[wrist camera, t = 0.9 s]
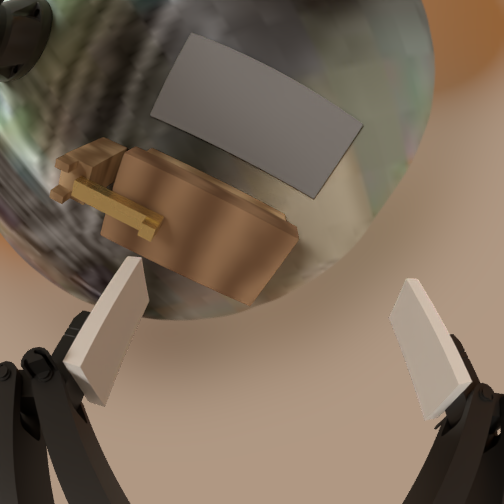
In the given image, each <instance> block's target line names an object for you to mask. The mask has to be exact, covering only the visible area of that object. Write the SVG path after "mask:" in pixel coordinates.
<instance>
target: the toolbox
mask: <svg viewBox="0 0 504 504" xmlns="http://www.w3.org/2000/svg"><path fill="white" fill-rule="evenodd" d="M126 151H127V148H126V147H124V146H122V145H120V144H117V143H115V142H113V141H111V140H109V139H106V138H104V137H103V138H100V139H98V140H95V141H93V142H91V143H88V144H86V145H84V146H81V147H79V148H77V149H75V150H73V151H70V152H68V153H66V154H65V155H63V156H61V157H59V158H57V159H56V164H55V167H56V168H58V169H60V170H61V175H60V180H59V185H58V186H56V187H55V188H53V189H52V190H51V192H50V198H52V199H53V200H55V201H57V202H59V203H61V204H63V203H64V202H65V201H67V200H68V199H69V198H71V199H73V200H75V201H77V202H79V203H81V204H82V205H84V204H85V203H84V202H82V201H80V200H78V199H77V198H75V197H73V196H71V194H72V189H73V184H74V180H75V179H77V178H79V177H80V176H83V177H85V178H87V179H89V180H91V181H93V182H95V183H97V184H99V185H101V186H103V187H105V188H106V187H107V186H108V185H110V184H111V183H112V182H114V181H115V179H116V176H117V173H118V170H119V167H120V164H121V161H122V158H123V155H124V152H126ZM147 152H149V153H151V154H154V155H156V156H158V157H160V158H162V159H164V160H166V161H169V162H171V163H173V164H175V165H177V166H179V167H181V168H183V169H185V170H187V171H189V172H191V173H193V174H195V175H198V176H200V177H202V178H204V179H206V180H208V181H210V182H212V183H214V184H216V185H218V186H220V187H222V188H224V189H226V190H228V191H230V192H232V193H234V194H235V195H237V196H239V197H241V198H243V199H245V200H247V201H249V202H251V203H253V204H255V205H257V206H259V207H261V208H262V209H264V210H266V211H268V212H270V213H272V214H274V215H276V216H278V217H279V218H281V219H283V220H285V221H286V218H285V214H283V213H281V212H280V211H278V210H276V209H274V208H272V207H270V206H268V205H266V204H265V203H263V202H261V201H259V200H257V199H255V198H253V197H251V196H249V195H247V194H245V193H244V192H242V191H240V190H238V189H236V188H234V187H232V186H230V185H228V184H226V183H224V182H222V181H220V180H218V179H216V178H214V177H212V176H210V175H208V174H206V173H204V172H202V171H200V170H198V169H196V168H194V167H192V166H190V165H188V164H185V163H183V162H181V161H179V160H177V159H175V158H173V157H171V156H169V155H167V154H164V153H162V152H160V151H158V150H156V149H154V148H151V149H149V150H148V151H147Z"/></svg>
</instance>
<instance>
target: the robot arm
mask: <svg viewBox="0 0 504 504" xmlns="http://www.w3.org/2000/svg"><path fill="white" fill-rule="evenodd" d="M3 1H4V0H0V82H6V81H12V80H16V79H19V78H21V77H22V76H24V75H25V74H26V73H27V72H28V71H29V70H30V69H31V68H32V67H33V66H34V65H35V63H36V62H37V60H38V59H39V57H40V55H41V54H42V52H43V50H44V48H45V45H46V43H47V40H48V37H49V33H50V29H51V22H52V14H51V9H50V6H49V4H48V2H47V1H46V0H10V1H7V2H3ZM2 2H3V3H2ZM148 302H149V297H148V292H147V287H146V281H145V275H144V270H143V263H142V258H141V257H131V256H127V258H126V259H125V261H124V262H123V264H122V265H121V266H120V268H119V269H118V271H117V272H116V274H115V275H114V277H113V278H112V280H111V281H110V283H109V284H108V286H107V288H106V289H105V291H104V292H103V294H102V295H101V297H100V298H99V300H98V302H97V303H96V305H95V306H94V308H93V310H92V311H91V312H87V311H82V312H81V313H79V314H78V315H77V316H76V317H75V318H74V319H73V321H72V322H71V324H70V325H69V328H68V329H67V330H66V332H65V335H63V337H62V339H61V340H60V342H59V344H58V345H57V347H56V349H55V350H54V352H53V354H52V356H51V355H50V354H49V352H48V351H47V350H46V349H45V348H41V347H37V348H32V349H30V350H29V351H27V352H26V354H25V355H24V356H23V358H22V360H21V367H22V368H23V370H18V369H17V368H16V366H15V365H14V364H13V363H12V362H8V361H5V362H2V363H0V504H54V499H53V494H52V488H51V482H50V475H49V468H48V458H47V449H48V452H49V455H50V458H51V461H52V464H53V467H54V469H55V472H56V474H57V477H58V480H59V482H60V485H61V487H62V490H63V492H64V494H65V497H66V499H67V501H68V503H69V504H130V502H129V501H128V499H127V497H126V496H125V494H124V492H123V490H122V489H121V487H120V485H119V483H118V481H117V480H116V478H115V476H114V474H113V472H112V470H111V468H110V466H109V464H108V462H107V460H106V458H105V456H104V454H103V452H102V450H101V447H100V445H99V443H98V440H97V438H96V436H95V433H94V431H93V429H92V427H91V424H90V421H89V419H88V416H87V413H86V411H85V408H84V405H83V404H82V402H81V401H82V398H83V396H84V395H85V397H86V398H87V400H88V401H89V402H91V403H94V404H98V405H101V406H104V407H105V405H106V402H107V400H108V397H109V395H110V392H111V389H112V387H113V384H114V381H115V379H116V376H117V374H118V372H119V369H120V367H121V364H122V362H123V359H124V357H125V355H126V352H127V350H128V347H129V345H130V343H131V340H132V338H133V336H134V333H135V331H136V329H137V327H138V324H139V322H140V320H141V318H142V316H143V313H144V311H145V309H146V307H147V305H148ZM389 320H390V322H391V325H392V327H393V330H394V332H395V335H396V337H397V340H398V343H399V345H400V348H401V351H402V353H403V356H404V359H405V362H406V364H407V367H408V370H409V373H410V376H411V379H412V382H413V385H414V388H415V391H416V394H417V397H418V400H419V404H420V407H421V410H422V414H423V417H424V420H429V419H434V418H438V417H439V416H440V415H441V414H442V413H443V412H444V411H445V412H446V415H447V416H446V417H445V418H444V419H443V420H442V421H441V422H440V423H438V424H437V425H436V427H435V428H434V429H437V428H438V427H439V426H440V425H441V427H440V429H439V432H438V434H437V437H436V439H435V441H434V444H433V446H432V448H431V450H430V452H429V455H428V457H427V459H426V461H425V463H424V465H423V467H422V469H421V471H420V473H419V475H418V477H417V479H416V481H415V483H414V485H413V486H412V488H411V490H410V491H409V493H408V495H407V497H406V498H405V500H404V502H403V503H402V504H504V394H499V393H494V391H493V390H492V389H491V387H490V386H488V385H487V384H484V383H480V381H479V379H478V377H477V375H476V373H475V370H474V368H473V366H472V364H471V362H470V360H469V359H468V356H467V354H466V352H464V348H463V346H462V344H461V342H460V341H459V340H458V339H457V338H456V337H455V336H454V334H449V332H448V331H447V329H446V327H445V325H444V323H443V321H442V320H441V318H440V316H439V314H438V312H437V310H436V309H435V307H434V305H433V304H432V302H431V300H430V298H429V297H428V295H427V293H426V292H425V290H424V288H423V287H422V285H421V283H420V282H419V280H418V279H412V278H406V279H405V282H404V284H403V287H402V289H401V291H400V294H399V296H398V298H397V301H396V303H395V305H394V307H393V309H392V312H391V314H390V316H389ZM500 428H501V433H500V434H499V435H498V434H497V430H498V429H500ZM46 446H47V448H46Z"/></svg>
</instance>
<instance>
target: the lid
mask: <svg viewBox="0 0 504 504" xmlns="http://www.w3.org/2000/svg"><path fill="white" fill-rule="evenodd" d="M112 191H113V192H115V193H118V194H120V195H122V196H124V197H126V198H128V199H130V200H132V201H134V202H136V203H138V204H140V205H142V206H144V207H146V208H148V209H150V210H152V211H154V212H156V213H158V214H160V215H162V216H164V219H163V221H162V224H161V226H160V229H159V231H158V233H157V234H156V236H155V237H154V238H153V240H152V241H151V242H150V241H148V240H146V239H144V238H142V237H140V236H138V232H139V230H137V229H135V228H133V227H131V226H129V225H127V224H125V223H123V222H121V221H119V220H117V219H115V218H113V217H111V216H109V215H107V214H105V218H104V222H103V226H102V230H101V234H100V235H102V236H104V237H106V238H108V239H109V240H111V241H113V242H115V243H117V244H119V245H121V246H123V247H125V248H127V249H129V250H131V251H133V252H135V253H137V254H139V255H141V256H143V257H145V258H147V259H149V260H151V261H153V262H155V263H157V264H159V265H161V266H163V267H166V268H168V269H170V270H172V271H174V272H176V273H178V274H180V275H182V276H184V277H187V278H189V279H191V280H193V281H195V282H197V283H199V284H202V285H204V286H206V287H208V288H210V289H213V290H215V291H217V292H219V293H221V294H224V295H226V296H228V297H230V298H233V299H235V300H237V301H239V302H242V303H244V304H246V305H249V306H251V304H252V303H253V302H254V300H255V299H256V298H257V296H258V295H259V293H260V292H261V291H262V289H263V288H264V287H265V285H266V284H267V283H268V281H269V280H270V279H271V277H272V276H273V275H274V273H275V272H276V270H277V269H278V268H279V266H280V265H281V264H282V262H283V261H284V260H285V258H286V257H287V255H288V254H289V253H290V251H291V250H292V248H293V247H294V246H295V244H296V243H297V242H298V240H299V236H298V231H297V227H296V226H294V225H293V224H291V223H289V222H287V221H285V220H283V219H281V218H279V217H278V216H276V215H274V214H272V213H270V212H268V211H266V210H264V209H262V208H261V207H259V206H257V205H255V204H253V203H251V202H249V201H247V200H245V199H243V198H241V197H239V196H237V195H235V194H234V193H232V192H230V191H228V190H226V189H224V188H222V187H220V186H218V185H216V184H214V183H212V182H210V181H208V180H206V179H204V178H202V177H200V176H198V175H195V174H193V173H191V172H189V171H187V170H185V169H183V168H181V167H179V166H177V165H175V164H173V163H171V162H169V161H166V160H164V159H162V158H160V157H158V156H156V155H154V154H151V153H149V152H147V151H145V150H143V149H141V148H138V147H134V148H132V149H130V150H128V151H126V152H124V155H123V158H122V161H121V164H120V167H119V170H118V173H117V176H116V179H115V183H114V186H113V189H112Z"/></svg>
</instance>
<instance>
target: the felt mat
mask: <svg viewBox="0 0 504 504" xmlns="http://www.w3.org/2000/svg"><path fill="white" fill-rule="evenodd" d="M150 116H152V117H155V118H157V119H159V120H162V121H164V122H166V123H168V124H171V125H173V126H175V127H177V128H179V129H182V130H184V131H186V132H188V133H190V134H192V135H194V136H196V137H199V138H201V139H203V140H205V141H207V142H209V143H211V144H213V145H215V146H217V147H219V148H221V149H223V150H225V151H227V152H229V153H231V154H233V155H235V156H237V157H239V158H241V159H243V160H245V161H247V162H248V163H250V164H252V165H254V166H256V167H258V168H260V169H262V170H264V171H265V172H267V173H269V174H271V175H273V176H275V177H276V178H278V179H280V180H282V181H284V182H285V183H287V184H289V185H291V186H292V187H294V188H296V189H298V190H299V191H301V192H303V193H305V194H306V195H308V196H310V197H312V198H313V199H314V197H315V196H316V195H317V193H318V192H319V190H320V189H321V187H322V186H323V184H324V183H325V181H326V180H327V178H328V177H329V175H330V174H331V172H332V171H333V169H334V168H335V166H336V165H337V163H338V162H339V161H340V159H341V158H342V156H343V155H344V153H345V152H346V150H347V149H348V147H349V146H350V144H351V143H352V141H353V140H354V138H355V136H356V135H357V133H358V132H359V130H360V129H361V127H362V126H363V124H362V123H361V122H359V121H358V120H357V119H355V118H354V117H352V116H351V115H349V114H348V113H347V112H345V111H344V110H342V109H341V108H339V107H338V106H336V105H335V104H333V103H331V102H330V101H328V100H327V99H325V98H324V97H322V96H320V95H319V94H317V93H316V92H314V91H312V90H311V89H309V88H307V87H306V86H304V85H302V84H300V83H299V82H297V81H295V80H293V79H292V78H290V77H288V76H286V75H284V74H283V73H281V72H279V71H277V70H275V69H273V68H271V67H269V66H267V65H265V64H263V63H261V62H259V61H257V60H255V59H253V58H251V57H249V56H247V55H245V54H242V53H240V52H238V51H236V50H234V49H231V48H229V47H227V46H224V45H222V44H220V43H217V42H215V41H212V40H210V39H207V38H205V37H202V36H199V35H197V34H194V33H191V34H190V36H189V38H188V40H187V41H186V43H185V45H184V47H183V48H182V50H181V52H180V54H179V56H178V58H177V60H176V61H175V63H174V65H173V67H172V69H171V71H170V73H169V75H168V77H167V79H166V81H165V83H164V85H163V87H162V89H161V92H160V94H159V96H158V98H157V100H156V102H155V105H154V107H153V109H152V111H151V114H150Z"/></svg>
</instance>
